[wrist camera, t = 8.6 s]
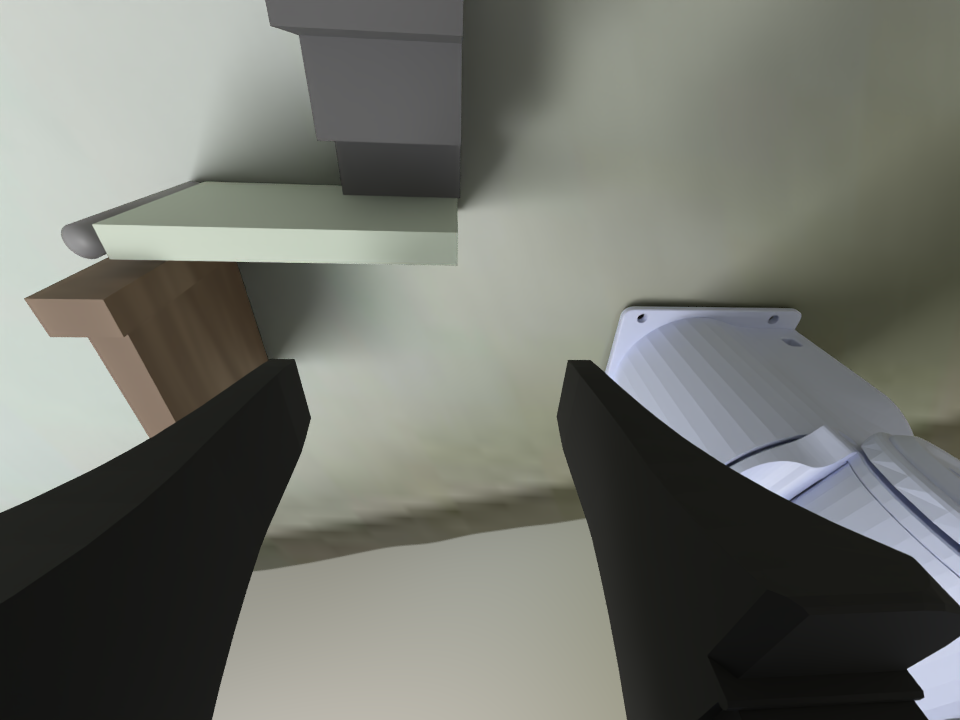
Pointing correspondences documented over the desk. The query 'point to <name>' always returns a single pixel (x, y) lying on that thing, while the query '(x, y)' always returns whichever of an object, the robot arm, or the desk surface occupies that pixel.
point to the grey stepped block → (384, 89)
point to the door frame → (159, 330)
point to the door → (271, 226)
